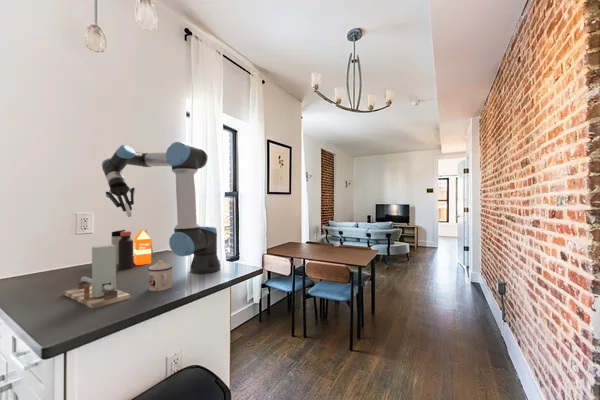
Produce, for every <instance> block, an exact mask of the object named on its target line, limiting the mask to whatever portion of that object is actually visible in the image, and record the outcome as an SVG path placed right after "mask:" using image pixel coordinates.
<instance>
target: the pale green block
mask: <svg viewBox="0 0 600 400" xmlns="http://www.w3.org/2000/svg"><path fill="white" fill-rule="evenodd" d="M116 278H117V266H116V245H112V244H104V245H103V244H102V245H97V246H96V245H95V246H91V279H92V296H94V297H101V296H104V292H108V291H107V290H104V289H102V284H105V283H106V284H108V285H111V286H114V290H116V289H117V279H116Z"/></svg>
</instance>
